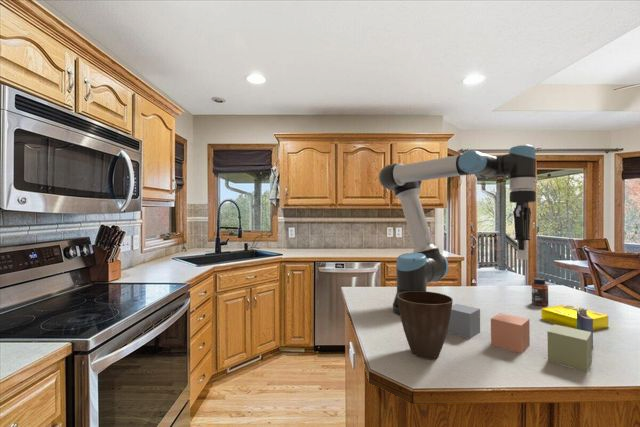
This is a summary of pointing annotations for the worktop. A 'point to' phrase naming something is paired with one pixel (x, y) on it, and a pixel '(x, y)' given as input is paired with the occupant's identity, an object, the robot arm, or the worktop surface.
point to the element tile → (572, 316)
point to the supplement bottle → (539, 292)
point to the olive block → (570, 347)
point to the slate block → (464, 321)
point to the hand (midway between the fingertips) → (522, 259)
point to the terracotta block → (510, 332)
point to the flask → (584, 322)
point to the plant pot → (425, 321)
